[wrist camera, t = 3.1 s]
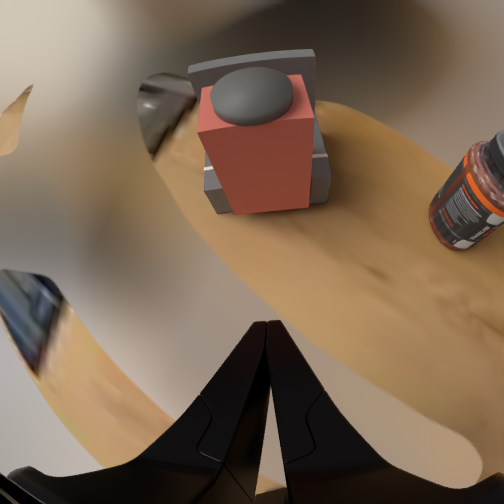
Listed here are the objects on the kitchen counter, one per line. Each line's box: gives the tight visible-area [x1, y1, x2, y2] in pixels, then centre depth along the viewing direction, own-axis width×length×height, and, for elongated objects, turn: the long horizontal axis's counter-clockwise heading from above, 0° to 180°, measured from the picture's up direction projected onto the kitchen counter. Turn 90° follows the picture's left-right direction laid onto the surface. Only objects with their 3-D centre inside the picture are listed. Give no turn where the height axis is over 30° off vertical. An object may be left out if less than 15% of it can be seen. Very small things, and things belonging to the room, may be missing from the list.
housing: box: [187, 49, 332, 214], centre depth 21 cm, size 8×10×10 cm
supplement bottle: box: [429, 130, 504, 251], centre depth 16 cm, size 6×6×11 cm
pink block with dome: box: [197, 67, 314, 215], centre depth 18 cm, size 4×6×11 cm
